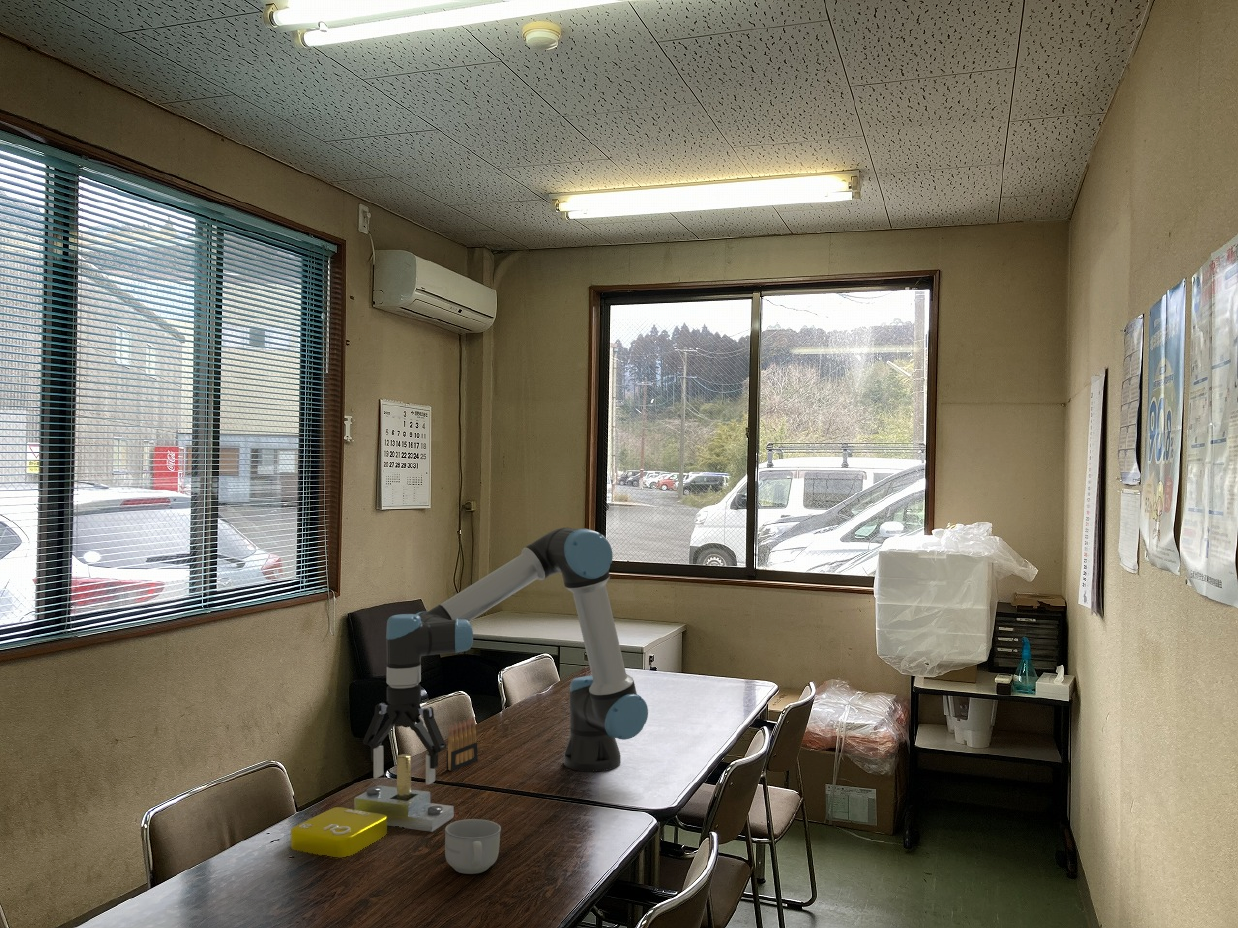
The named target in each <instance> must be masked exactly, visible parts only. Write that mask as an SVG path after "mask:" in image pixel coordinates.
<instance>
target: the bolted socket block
mask: <svg viewBox="0 0 1238 928" xmlns="http://www.w3.org/2000/svg"><path fill="white" fill-rule="evenodd" d="M353 800H354V803H353V805H354V809H353V810H359V811H365V812H371V813H378V814H383V815H386V816H387V827H388V826H391V827H395V826H399V827H398V828H402V827H404V828H403V829H410V830H418V831H422V832H423V831H424V832H431V833H433V832H434V831H436V830H437V829H439V828H440V827H442V826H443V825H445V824H446V823H448V822H449V821H451V820H452V819H453V818H454V811H455V809H454V805H450V804H449V805H448V804H440V803H433V802H431V791H426V790H425V791H424V790H417V789H411V799H410V800H408V801H403V800H397V786H396V787H395V786H389V785H388V786H387V785H381V784H380V785H379V784H377V785H376V786H371V787H368V788H366V791H365V792H363V793H361V794H360V795H358V796H355V797H354V799H353Z"/></svg>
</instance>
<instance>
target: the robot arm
mask: <svg viewBox="0 0 1238 928" xmlns="http://www.w3.org/2000/svg"><path fill="white" fill-rule="evenodd" d="M613 557H614V555H613V549H612V546H611V544H610V542H609V541H608V539H607V538H606V537H605V536H604V535H603V534H601V533H600V532H598V531H595V530H593V529H589V528H574V527H573V528H572V527H559V528H556V529H554V530H551V531H549V532H547V533H546V534H544V535H542V536H541V537H540V538H538V539H536V540H535V541H533V542H531V543H530V544H529V545H526V546H525V547H524V548H522V549H521V554H519V555H518V556H516V557H515V558H513V559H512V560H510V561H508V562H507V563H505V564H503V565H502V566H499V568H497V569H496V570H493V571H492V572H490V573H489V574H487V575H486V576H484V577H482V578H480V579H478V580H477V581H476V582H474V583H473V584H471V585H469V586H468V587H466V588H465V589H463V590H461V591H460V592H457V593H456V594H455V595H453V596H452V597H450V598H448V599H446V600H444V601H443V602H442V603H440V604H438V605H437V606H435V607H433V608H431V609H429V610H428V611H427V610H426V611H419V612H417V613H404V614H403V613H401V614H395V615H391V616H390V617H389V618H388V619H387V621H386V622H387V623H386V634H385V635H386V636H385V639H386V640H385V642H386V684H387V685H388V686H387V687H386V702H387V704H386V702H381V703H378V704H375V706H374V715H373V717H372V718H371V722H370V724H369V726H368V728H367V730H366V733H365V735H364V737H363V739H362V744H363V745H367V746H369V748H370V760H371V762H373V779H378V778H379V777H382V776H384V745H382V742H383V741H384V740H385V738H386V737H387V736H388V734H389V733H390V732H392V731H391V730H392V729H393V728H394V727H398V728H399V727H403V728H410V730H411V731H413V732H414V733H415V734H416V736H417V738H418V739H419V741H420V742H421V743H422V745H423V746H424V748H425V749H426V750H427V752H428V753H426V754H425V785H426V786H427V785H431V784H433V783H434V782H435V781H436V768H438V767H439V753H441V752H443V751H444V750H446V749H447V745H446V742H445V740H444V737H443V735H442V732H441V730H440V728H439V725H438V723H437V721H436V718H435V714H434V708H433V707H432V706H429V707H426V708H424V707H423V708H422V706H421V700H422V686H421V684H420V682H422V681H421V680H422V675H421V673H422V665H421V664H422V660H421V659H422V657H425V656H426V657H427V656H435V655H445V654H447V655H448V654H454V653H455V654H458V653H462V652H468V651H469V650H470V649H471V648H472V646H473V643H474V630H473V627H472V624H471V621H473V620H474V619H476V618H477V617H479V616H481V615H482V614H484V613H486V612H487V611H489V610H490V609H492V608H493V607H495V606H497V605H498V604H500V603H502V601H504V600H506V599H508V598H509V597H511V596H513V595H514V594H515V593H518V592H519V591H520V590H522V589H524V588H525V587H527V586H529V585H530V584H531V583H533V582H534V581H536V580H538V581H543V580H545V579H547V578H548V577H550V576H553V575H556V574H561V576H562V580H563V584H564V588H565V589H566V590H568V591H569V592H571V593H572V596H573V600H574V605H575V609H576V613H577V617H578V622H579V626H580V631H581V635H582V639H583V643H584V647H585V651H586V656H587V661H588V665H589V669H590V673H591V675H585V676H579V677H575V678H573V679H572V680H570V685H569V709H570V710H569V717H570V718H569V719H570V722H569V723H570V726H569V727H570V728H569V729H570V733H569V734H570V735H569V737H568V741H567V744H566V748H565V751H564V755H563V766H565V767H566V768H568V769H571V770H574V771H578V772H587V773H588V772H589V773H590V772H604V771H609V770H612V769H615V768H617V767H619V766H620V765H621V752H620V748H619V745H618V743H617V740H616V739H618V740H622V741H623V740H624V741H625V740H631V739H633V738H634V737H636V736H637V735H638V734H640V732H642V731H643V730H644V726H645V724H647V721H648V717H649V709H648V704H647V702H646V701H645V699H644V698H643V697H642V696H641V695H640V694H638V692H637V690H636V684H635V680H634V677H632V676H631V675H629V674H627V672H626V668H625V663H624V660H623V659H624V658H623V655H622V650H621V646H620V642H619V638H618V633H617V629H616V624H615V619H614V615H613V611H612V607H611V601H610V598H609V593H608V589H607V583H608V581H609V580H610V578H611V575H610V571H609V570H610V568H611V564H612V563H613V559H614V558H613ZM385 714H387V715H388V718H387V720H386V721H385V723H384V725H383V726H382V728H381V729H380V730H379V728H380V727H381V724H382V722H383V719H384V717H385ZM420 716H421V717H420ZM422 719H423V720H422Z"/></svg>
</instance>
